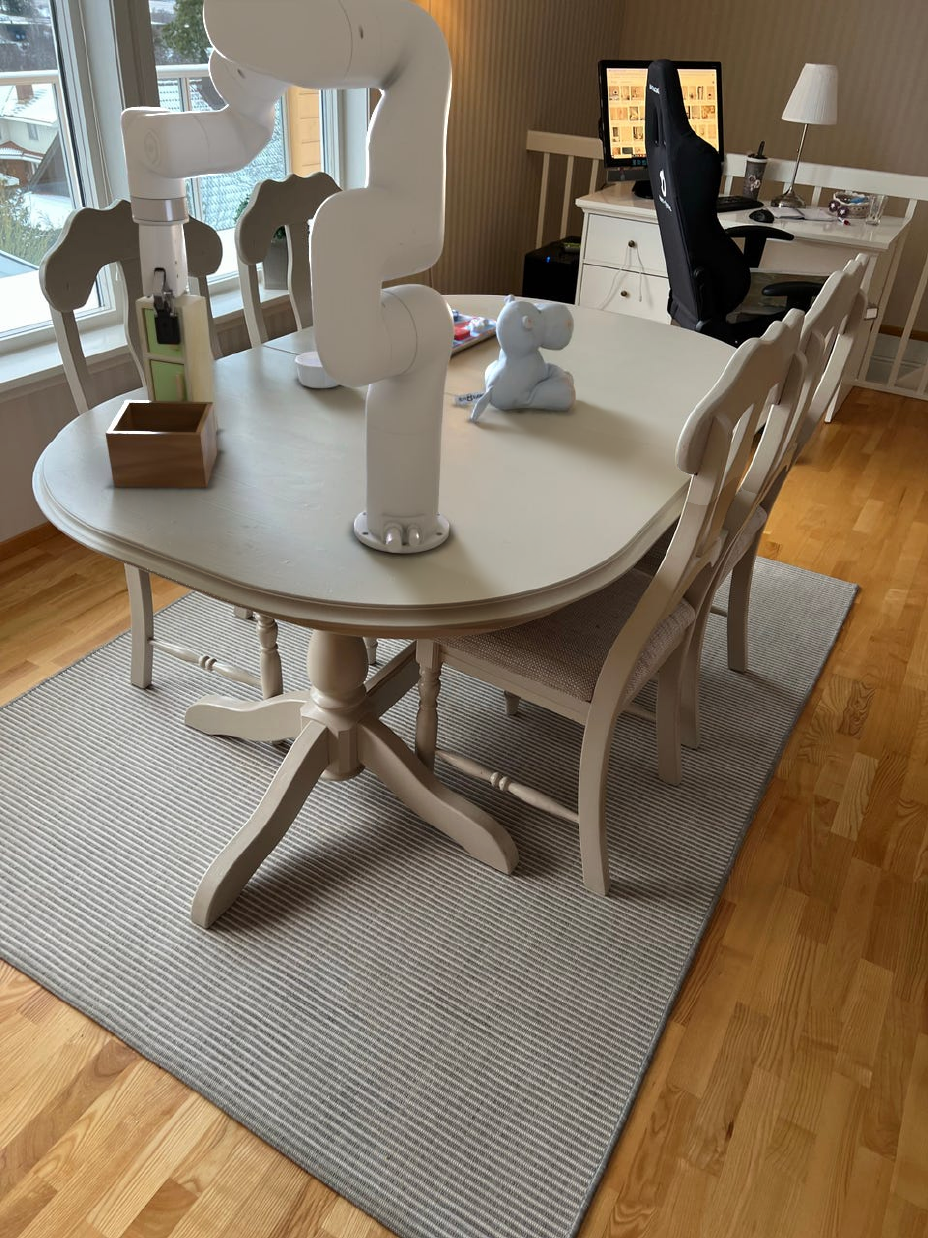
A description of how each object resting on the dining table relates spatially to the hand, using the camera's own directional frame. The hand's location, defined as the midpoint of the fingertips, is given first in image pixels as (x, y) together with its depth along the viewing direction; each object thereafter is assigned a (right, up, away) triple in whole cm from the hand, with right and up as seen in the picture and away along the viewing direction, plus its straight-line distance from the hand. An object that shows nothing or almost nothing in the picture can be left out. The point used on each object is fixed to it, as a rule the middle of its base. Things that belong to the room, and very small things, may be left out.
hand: (174, 334), depth 139 cm
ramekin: (+17, +1, +32) cm, 37 cm away
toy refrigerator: (-1, -13, +9) cm, 16 cm away
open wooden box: (0, -20, -2) cm, 20 cm away
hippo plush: (+52, -4, +28) cm, 60 cm away
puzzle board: (+35, +18, +60) cm, 71 cm away
